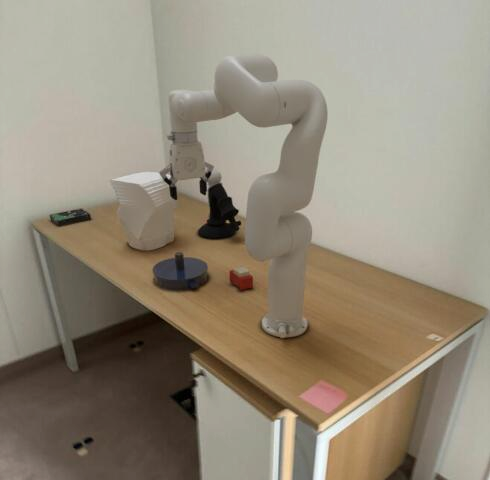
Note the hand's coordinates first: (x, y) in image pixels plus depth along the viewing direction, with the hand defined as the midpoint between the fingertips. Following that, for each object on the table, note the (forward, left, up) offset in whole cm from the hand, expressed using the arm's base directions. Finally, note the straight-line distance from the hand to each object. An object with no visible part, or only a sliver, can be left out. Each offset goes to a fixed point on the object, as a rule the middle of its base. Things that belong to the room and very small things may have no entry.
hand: (189, 196), depth 144 cm
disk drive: (+57, +60, -26) cm, 87 cm away
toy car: (-10, -16, -26) cm, 32 cm away
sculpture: (+36, -8, -26) cm, 45 cm away
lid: (-4, +4, -23) cm, 23 cm away
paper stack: (+29, +17, -26) cm, 43 cm away
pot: (-4, +4, -26) cm, 27 cm away
